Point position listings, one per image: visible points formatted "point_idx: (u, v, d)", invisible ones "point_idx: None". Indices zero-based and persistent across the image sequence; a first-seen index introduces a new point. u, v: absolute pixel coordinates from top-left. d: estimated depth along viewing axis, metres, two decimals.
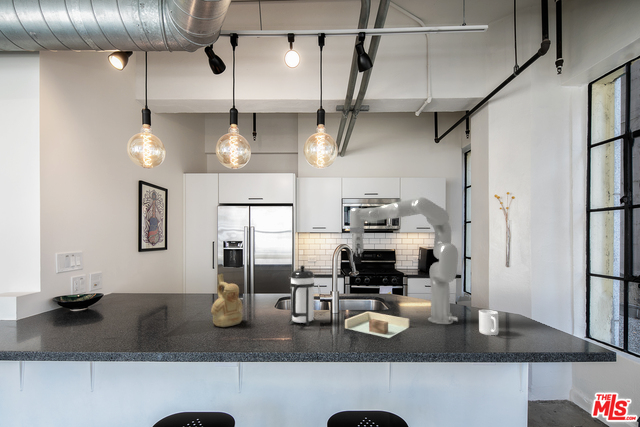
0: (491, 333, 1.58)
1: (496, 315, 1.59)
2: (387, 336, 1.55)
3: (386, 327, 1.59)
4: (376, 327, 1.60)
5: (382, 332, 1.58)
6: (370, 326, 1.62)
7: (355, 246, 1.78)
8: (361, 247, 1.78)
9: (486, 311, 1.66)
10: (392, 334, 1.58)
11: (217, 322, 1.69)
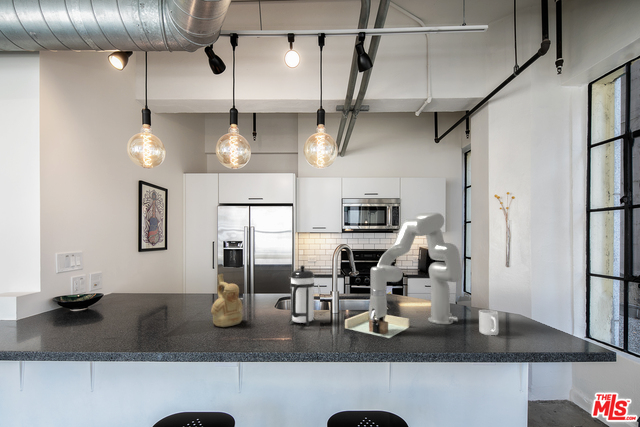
0: (491, 333, 1.58)
1: (496, 315, 1.59)
2: (387, 336, 1.55)
3: (386, 327, 1.59)
4: None
5: (382, 332, 1.58)
6: (370, 326, 1.62)
7: None
8: None
9: (486, 311, 1.66)
10: (392, 334, 1.58)
11: (217, 322, 1.69)
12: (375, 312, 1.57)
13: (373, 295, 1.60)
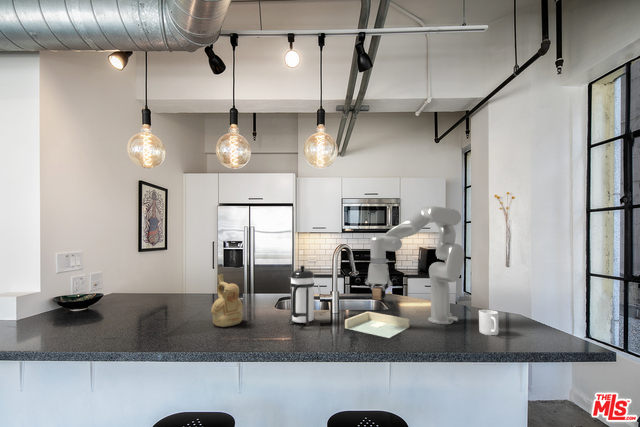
0: (491, 333, 1.58)
1: (496, 315, 1.59)
2: (387, 336, 1.55)
3: (377, 294, 1.68)
4: None
5: None
6: None
7: (387, 278, 1.68)
8: None
9: (486, 311, 1.66)
10: (392, 334, 1.58)
11: (217, 322, 1.69)
12: None
13: None
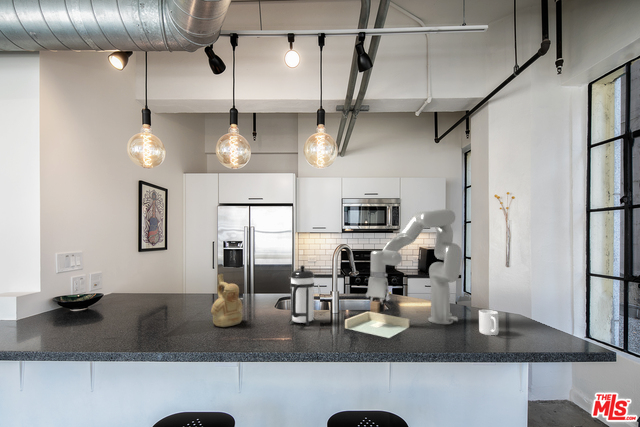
0: (491, 333, 1.58)
1: (496, 315, 1.59)
2: (387, 336, 1.55)
3: (374, 307, 1.71)
4: None
5: None
6: None
7: (385, 292, 1.70)
8: (388, 292, 1.72)
9: (486, 311, 1.66)
10: (392, 334, 1.58)
11: (217, 322, 1.69)
12: None
13: None
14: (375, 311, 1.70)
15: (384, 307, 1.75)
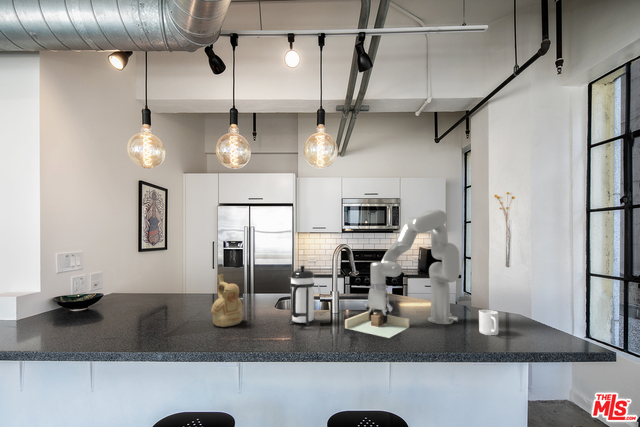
0: (491, 333, 1.58)
1: (496, 315, 1.59)
2: (387, 336, 1.55)
3: (374, 320, 1.70)
4: None
5: None
6: None
7: (385, 304, 1.70)
8: (388, 304, 1.72)
9: (486, 311, 1.66)
10: (392, 334, 1.58)
11: (217, 322, 1.69)
12: None
13: None
14: (376, 325, 1.70)
15: None
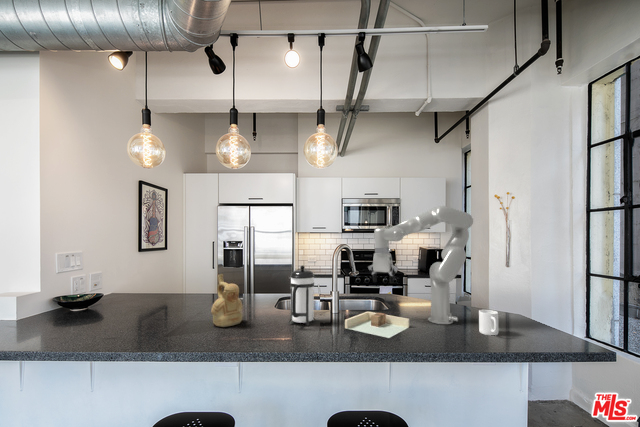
0: (491, 333, 1.58)
1: (496, 315, 1.59)
2: (387, 336, 1.55)
3: (374, 320, 1.70)
4: None
5: None
6: None
7: (389, 266, 1.80)
8: None
9: (486, 311, 1.66)
10: (392, 334, 1.58)
11: (217, 322, 1.69)
12: None
13: None
14: (376, 325, 1.70)
15: (385, 320, 1.75)
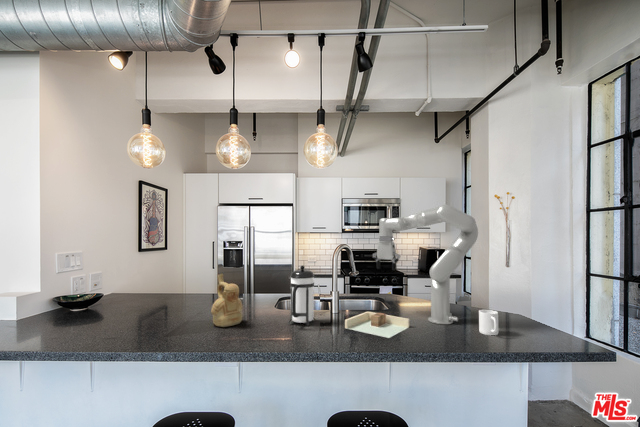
0: (491, 333, 1.58)
1: (496, 315, 1.59)
2: (387, 336, 1.55)
3: (374, 320, 1.70)
4: None
5: None
6: None
7: (392, 254, 1.91)
8: None
9: (486, 311, 1.66)
10: (392, 334, 1.58)
11: (217, 322, 1.69)
12: None
13: None
14: (376, 325, 1.70)
15: (385, 320, 1.75)
